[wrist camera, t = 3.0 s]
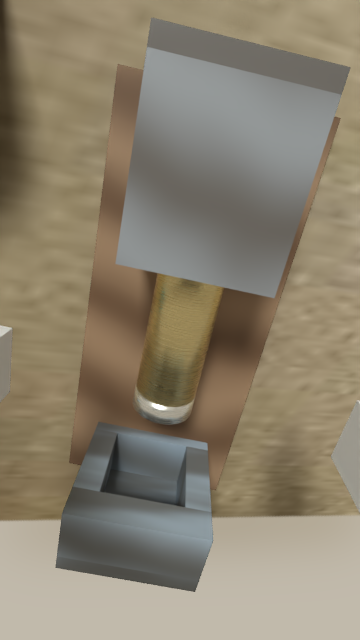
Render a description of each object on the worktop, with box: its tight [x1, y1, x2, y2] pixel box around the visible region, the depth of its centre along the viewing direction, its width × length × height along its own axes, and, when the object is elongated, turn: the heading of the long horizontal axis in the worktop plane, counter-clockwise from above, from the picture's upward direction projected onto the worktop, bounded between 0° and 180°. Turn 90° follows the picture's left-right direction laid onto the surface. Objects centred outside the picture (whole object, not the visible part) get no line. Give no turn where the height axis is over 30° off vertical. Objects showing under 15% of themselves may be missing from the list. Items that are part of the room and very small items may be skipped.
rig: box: [56, 18, 350, 592], centre depth 20 cm, size 27×12×9 cm, turn 168°
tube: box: [133, 273, 224, 425], centre depth 18 cm, size 16×4×4 cm, turn 168°
